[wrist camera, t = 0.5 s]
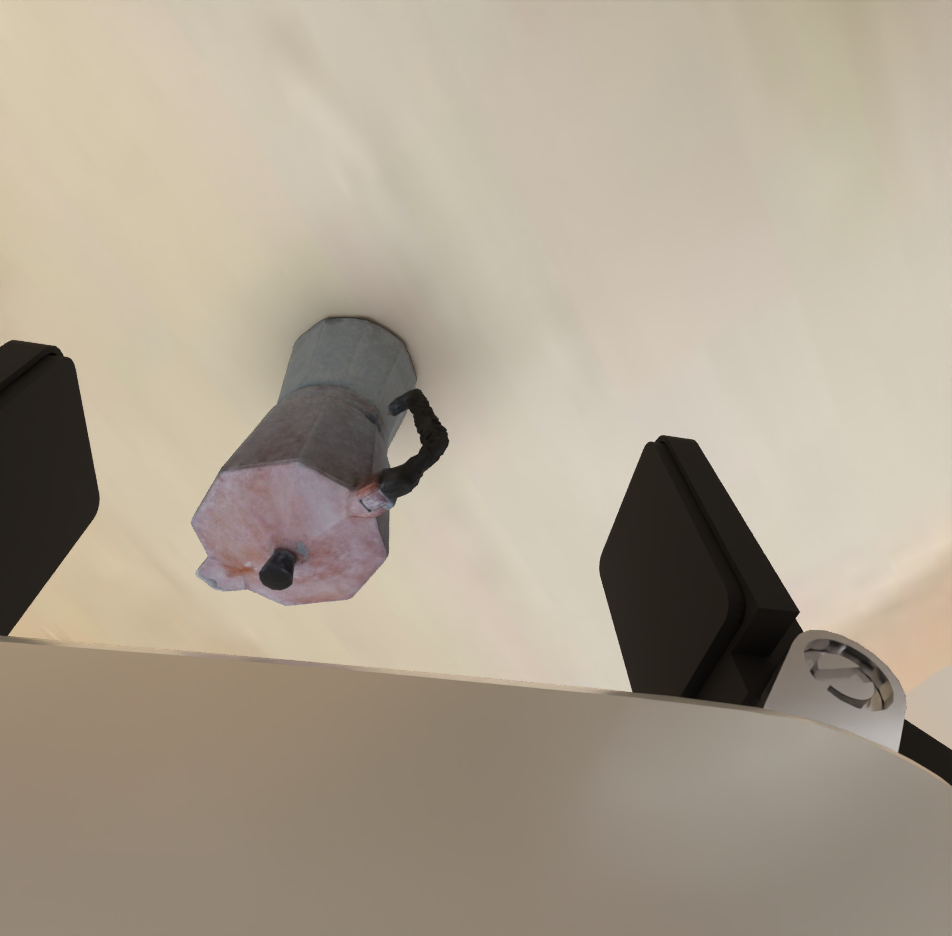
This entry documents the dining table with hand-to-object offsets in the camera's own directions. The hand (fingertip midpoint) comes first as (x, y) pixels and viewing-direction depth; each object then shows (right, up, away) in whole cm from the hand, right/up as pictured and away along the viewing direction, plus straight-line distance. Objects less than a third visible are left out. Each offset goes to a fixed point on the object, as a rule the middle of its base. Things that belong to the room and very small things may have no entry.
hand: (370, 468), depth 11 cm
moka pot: (-7, +7, +34) cm, 35 cm away
